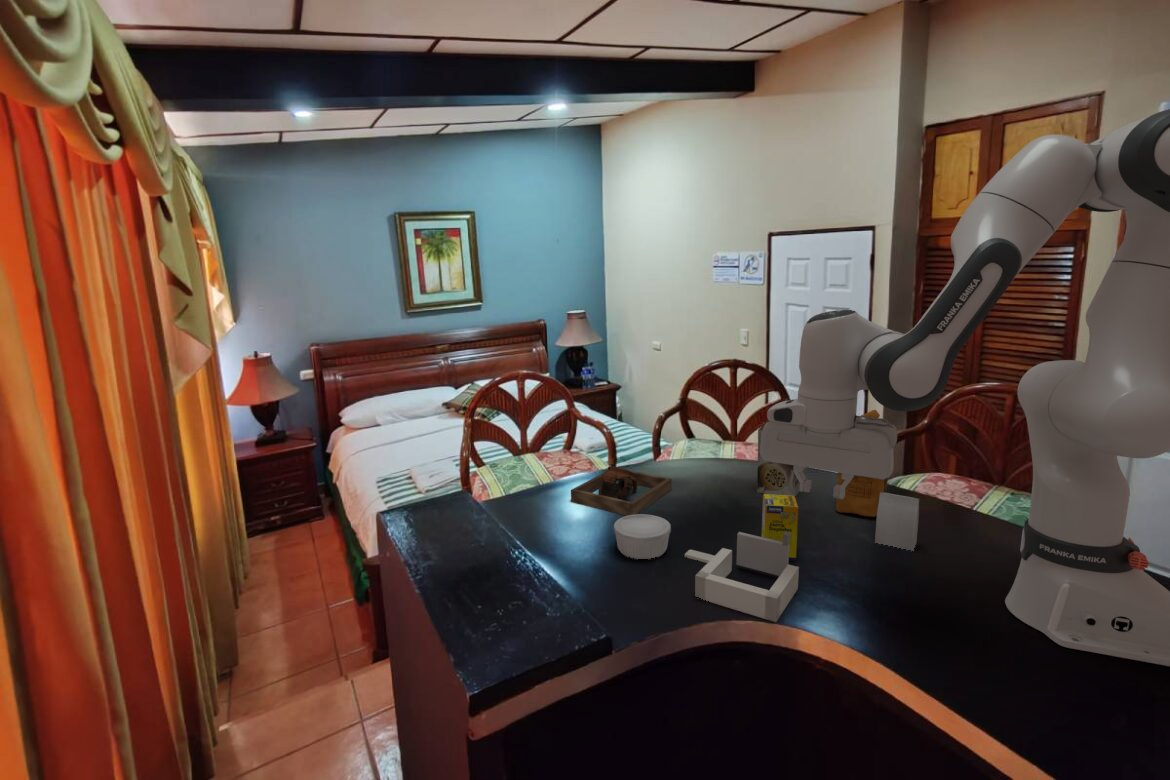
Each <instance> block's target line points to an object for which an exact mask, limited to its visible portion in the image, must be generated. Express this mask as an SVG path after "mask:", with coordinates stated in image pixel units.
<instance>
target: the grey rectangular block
mask: <svg viewBox="0 0 1170 780" xmlns="http://www.w3.org/2000/svg"><path fill="white" fill-rule="evenodd" d="M919 517H920V498H916V497H911V496H906V495H900V494H893V493H889V492H886V493H883V492H880V497H879V504H878V511H877V515H876V523H875V535H874V544H876V543H878V544H877V545H881V544H883V545H882V546H885V545H888V546H887V547H890V546H893V547H892V548H894V547H897V548H896V549H899V548H901V549H900V550H903V549H906V550H905V551H908V550H911V551H910V552H912V551H913V552H914V551H915V549H916V546H917V543H918V542H917V538H918V530H919V529H918V528H919ZM915 545H916V546H915ZM914 548H915V549H914Z"/></svg>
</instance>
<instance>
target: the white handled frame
mask: <svg viewBox="0 0 1170 780" xmlns="http://www.w3.org/2000/svg"><path fill="white" fill-rule="evenodd" d="M686 557H687V559H690V560H695V561H697V560H698V562H702V563H706V564H705V565H704V566H703V567H702V568H701V569H700V570H699V571H698V572H697V573H696V574H695V579H694V582H695V583H694V585H695V586H694V597H695V596H696V597H699V598H701V599H700V600H702V599H703V600H702V601H705V600H706V602H708V601H709V602H710V603H711V604H715V605H719V606H722V607H725V608H729V609H732V610H734V611H739V612H741V613H744V614H748V615H751V616H755V617H758V618H761V619H764V620H768V621H770V622H774V623H777V622H778V620H779V619H780V617H781V615H782V614H783V612H784V611H785V610H786V607H787V606H788V605H789V603H790V602H791V600H792V599H793V598H794V595H795V594H796V593H797V591H798V589H799V574H800V573H799V571H800V570H799V569H800V566H795V565H792V564H788V565H787V567H786V568H785V569H784V571H783V572H782V574H781V575H780V576H778V578H777V579H776V580H775V582H774V583H773V584H772V586H771V587H770V589H769V590H768V589H766V588H762V587H758V586H755V585H751V584H747V583H743V582H741V581H738V580H734V579H731V578H730V579H729V578H727V577H728V576H729V575H730V573H731V572H732V569H733V568H732V567H733V549H728V548H724V547H722V548H721V549H720V550H719V551H717V553H716V554H715V555H713V554H710V553H706V552H702V551H698V550H694V549H689V550H687V551H686V552H685V553H684V558H686ZM696 597H695V598H696ZM699 598H698V599H699Z"/></svg>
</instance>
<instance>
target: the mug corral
mask: <svg viewBox="0 0 1170 780" xmlns="http://www.w3.org/2000/svg"><path fill="white" fill-rule="evenodd" d="M630 471H631V472H633V473H635V474H636V475H637V476H636V480H637V486H642V487H646V488H651V489H649V490H647V491H646V492H644V493H643V494H641V495H639V496H638V497H636V498H635V499H633V500H631V501H629V500H625V499H622V498H620V499H619V498H612V497H607V496H603V495H599V494H598V493H594V492H596V491H599V488H602V480H603V479H602V475H603V474H604V473H605V472H606V471H604V472H602V473H600V474H598V475H596V476H595V477H593V478H590V479H589V480H587V481H584V482H583V483H581V484H579V485H577V486H576V487H574V488H572V489H570V502H571V503H575V504H578V505H582V506H586V507H591V508H595V509H599V510H603V511H607V512H612V513H615V514H620V515H624V516H629V515H636V514H639V513H641V512H642V511H643V510H645V509H646V508H648V507H650V506H651V505H652V504H654V503H655V502H657V501H658V500H659V499H661V498H663V497H664V496H665V495H667V494H668V493H670V492H671V491H672V485H673V484H672V478H669V477H664V476H659V475H653V474H649V473H644V472H640V471H639V472H638V471H633V470H630ZM616 482H619V480H616Z"/></svg>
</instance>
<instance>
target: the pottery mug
mask: <svg viewBox="0 0 1170 780" xmlns="http://www.w3.org/2000/svg"><path fill="white" fill-rule="evenodd" d="M631 471H632V470H628V469H626V468H622V467H620V466H619V467H617V466H608V467H607V470H606V471H604V472H605V473H604V472H603V473H604V474H603V475H602V479H603V480H602V488H599V489H598V493H597V494H599V495H603V496H607V497H612V498H616V499H618V497H619V498H620V499H621V500H625V499H627V498H628V496H629V494H630V492H631V491H632V492H633V493H637V491H638V485H637V480H636V476H637V475H636V474H635V473H633V472H631ZM617 480H619V481H618V483H617Z"/></svg>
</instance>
